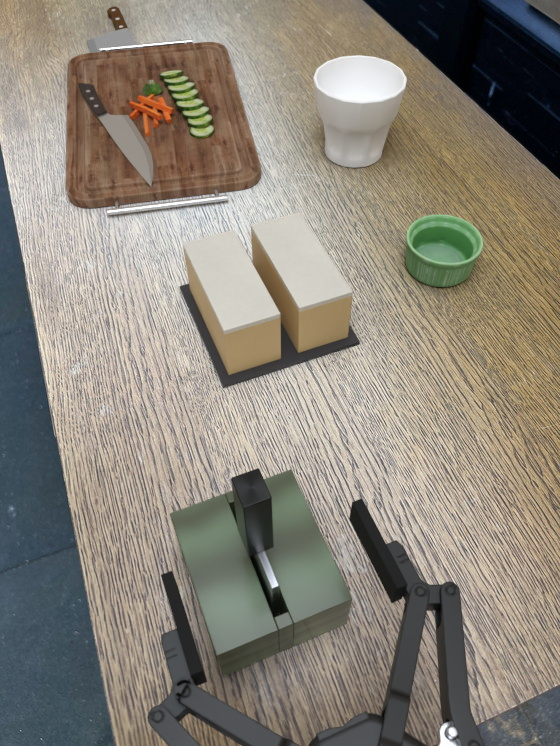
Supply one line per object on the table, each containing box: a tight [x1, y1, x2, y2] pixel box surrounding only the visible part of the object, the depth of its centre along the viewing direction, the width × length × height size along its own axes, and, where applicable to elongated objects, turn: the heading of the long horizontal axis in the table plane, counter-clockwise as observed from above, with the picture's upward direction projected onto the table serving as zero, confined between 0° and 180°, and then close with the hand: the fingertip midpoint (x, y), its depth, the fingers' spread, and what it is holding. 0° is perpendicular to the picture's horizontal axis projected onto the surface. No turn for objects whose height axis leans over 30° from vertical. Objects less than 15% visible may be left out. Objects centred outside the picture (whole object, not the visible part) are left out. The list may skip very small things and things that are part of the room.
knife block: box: [169, 469, 353, 677], centre depth 53 cm, size 12×11×6 cm
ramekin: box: [404, 213, 484, 288], centre depth 78 cm, size 9×9×4 cm
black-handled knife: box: [230, 468, 280, 617], centre depth 49 cm, size 8×2×17 cm, turn 22°
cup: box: [312, 54, 408, 169], centre depth 90 cm, size 12×12×11 cm
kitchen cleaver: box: [86, 5, 138, 53], centre depth 116 cm, size 24×1×10 cm
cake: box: [179, 211, 361, 389], centre depth 72 cm, size 16×16×8 cm
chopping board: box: [64, 38, 262, 216], centre depth 99 cm, size 45×27×3 cm, turn 11°
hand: (265, 542), depth 44 cm, fingers open, 13 cm apart
